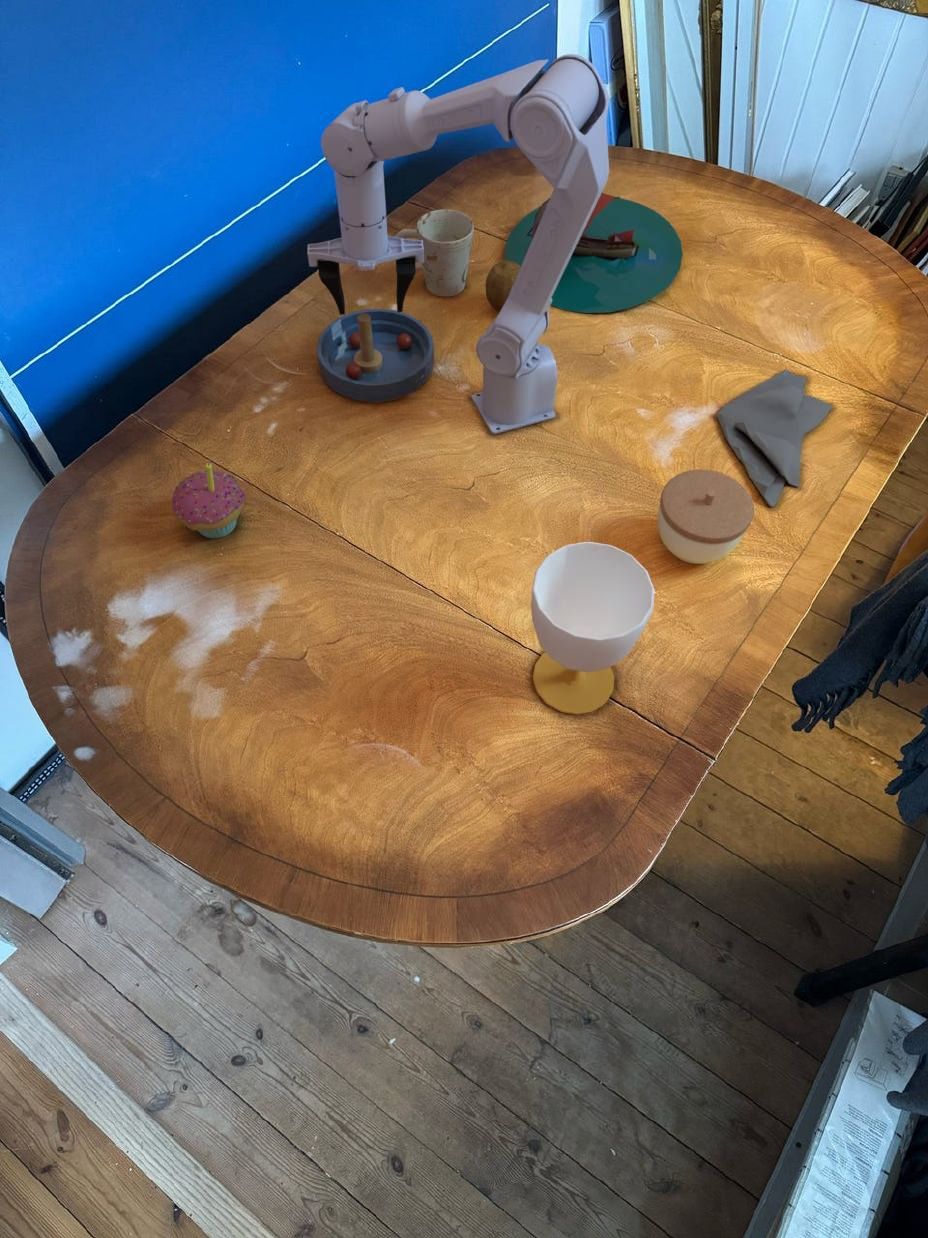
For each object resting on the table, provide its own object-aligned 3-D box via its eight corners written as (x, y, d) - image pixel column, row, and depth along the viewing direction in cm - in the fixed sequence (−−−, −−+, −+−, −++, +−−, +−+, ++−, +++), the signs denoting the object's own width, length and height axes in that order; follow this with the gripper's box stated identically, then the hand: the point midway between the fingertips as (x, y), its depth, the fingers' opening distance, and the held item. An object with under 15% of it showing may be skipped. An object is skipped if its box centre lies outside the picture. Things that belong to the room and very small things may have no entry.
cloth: (749, 358, 129) (754, 346, 127) (843, 391, 125) (849, 378, 124) (684, 474, 116) (687, 461, 114) (785, 514, 113) (791, 502, 111)
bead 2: (358, 358, 124) (354, 367, 122) (366, 371, 125) (362, 380, 124) (345, 362, 125) (341, 371, 123) (352, 374, 126) (348, 384, 125)
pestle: (382, 354, 128) (378, 307, 121) (382, 373, 126) (379, 326, 119) (354, 355, 128) (349, 308, 121) (354, 374, 126) (349, 327, 119)
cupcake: (262, 508, 112) (244, 439, 102) (231, 559, 108) (208, 492, 98) (201, 491, 114) (177, 421, 104) (168, 540, 109) (139, 472, 99)
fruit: (533, 313, 134) (537, 266, 128) (500, 328, 132) (502, 281, 126) (509, 292, 137) (512, 245, 130) (476, 306, 135) (477, 259, 128)
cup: (549, 741, 95) (567, 658, 80) (503, 654, 100) (511, 562, 86) (645, 703, 97) (678, 615, 83) (594, 621, 103) (617, 526, 89)
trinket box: (633, 527, 111) (646, 475, 103) (705, 500, 114) (724, 448, 106) (678, 590, 106) (696, 541, 98) (754, 562, 108) (777, 511, 101)
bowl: (411, 318, 133) (410, 298, 130) (450, 387, 125) (450, 368, 122) (306, 343, 130) (303, 323, 127) (339, 416, 122) (336, 396, 119)
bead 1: (368, 337, 128) (358, 327, 128) (358, 341, 126) (347, 331, 127) (364, 349, 129) (353, 339, 130) (353, 353, 128) (343, 343, 128)
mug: (466, 305, 135) (467, 245, 127) (386, 294, 137) (382, 234, 128) (477, 272, 140) (478, 212, 131) (399, 262, 141) (396, 202, 133)
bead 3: (400, 354, 128) (410, 349, 130) (407, 345, 126) (417, 340, 128) (391, 342, 128) (401, 337, 129) (397, 333, 126) (407, 328, 128)
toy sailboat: (514, 201, 151) (513, 137, 141) (682, 207, 148) (693, 142, 138) (494, 315, 137) (492, 253, 128) (679, 325, 134) (692, 262, 124)
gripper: (301, 235, 106) (316, 329, 117) (424, 230, 106) (426, 325, 118) (303, 201, 110) (316, 296, 121) (420, 197, 110) (423, 292, 122)
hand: (371, 308), depth 120 cm, fingers open, 7 cm apart
